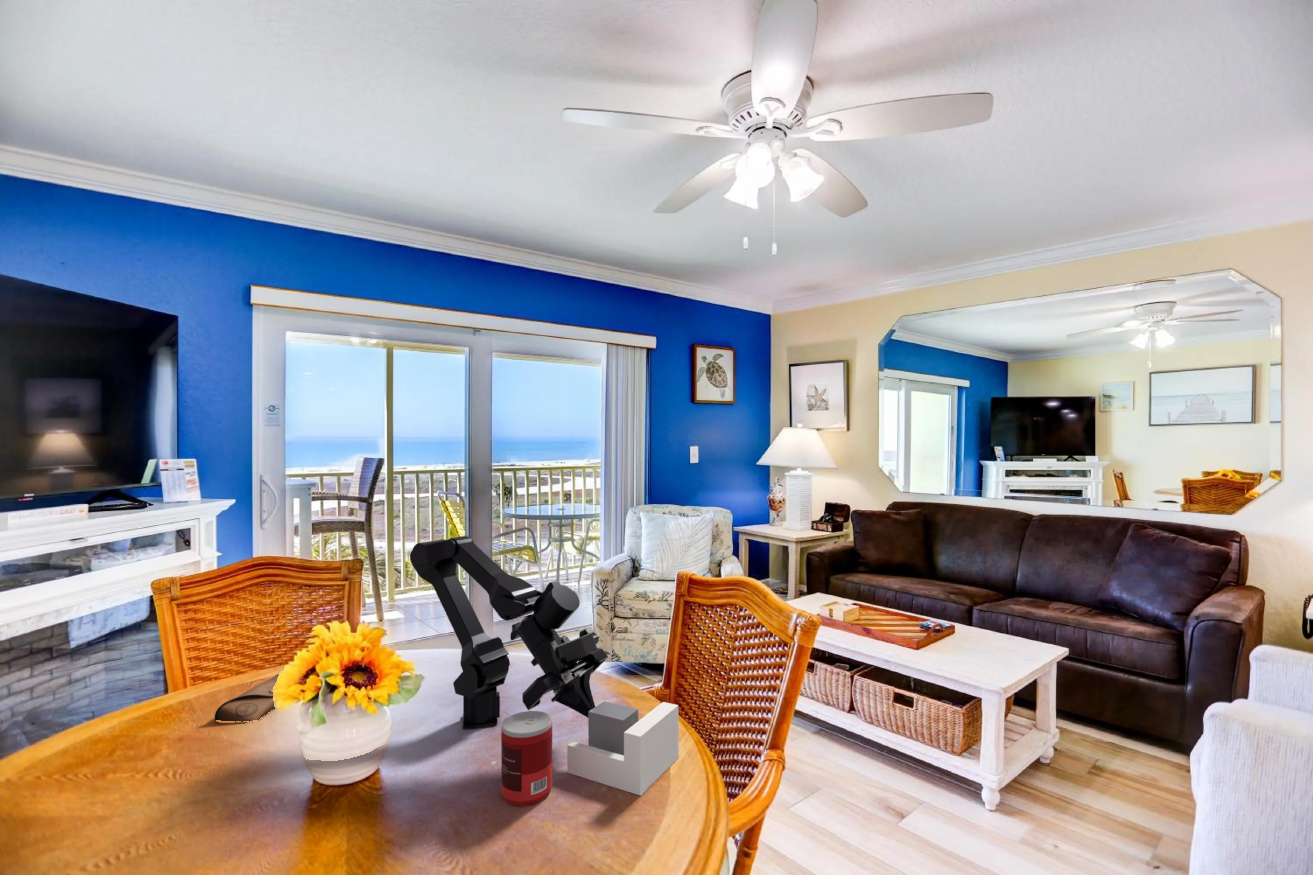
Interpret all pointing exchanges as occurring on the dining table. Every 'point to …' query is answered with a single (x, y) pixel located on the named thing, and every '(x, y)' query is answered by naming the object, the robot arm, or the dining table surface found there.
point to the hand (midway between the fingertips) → (594, 717)
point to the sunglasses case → (249, 704)
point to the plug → (610, 726)
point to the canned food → (526, 758)
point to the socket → (632, 753)
